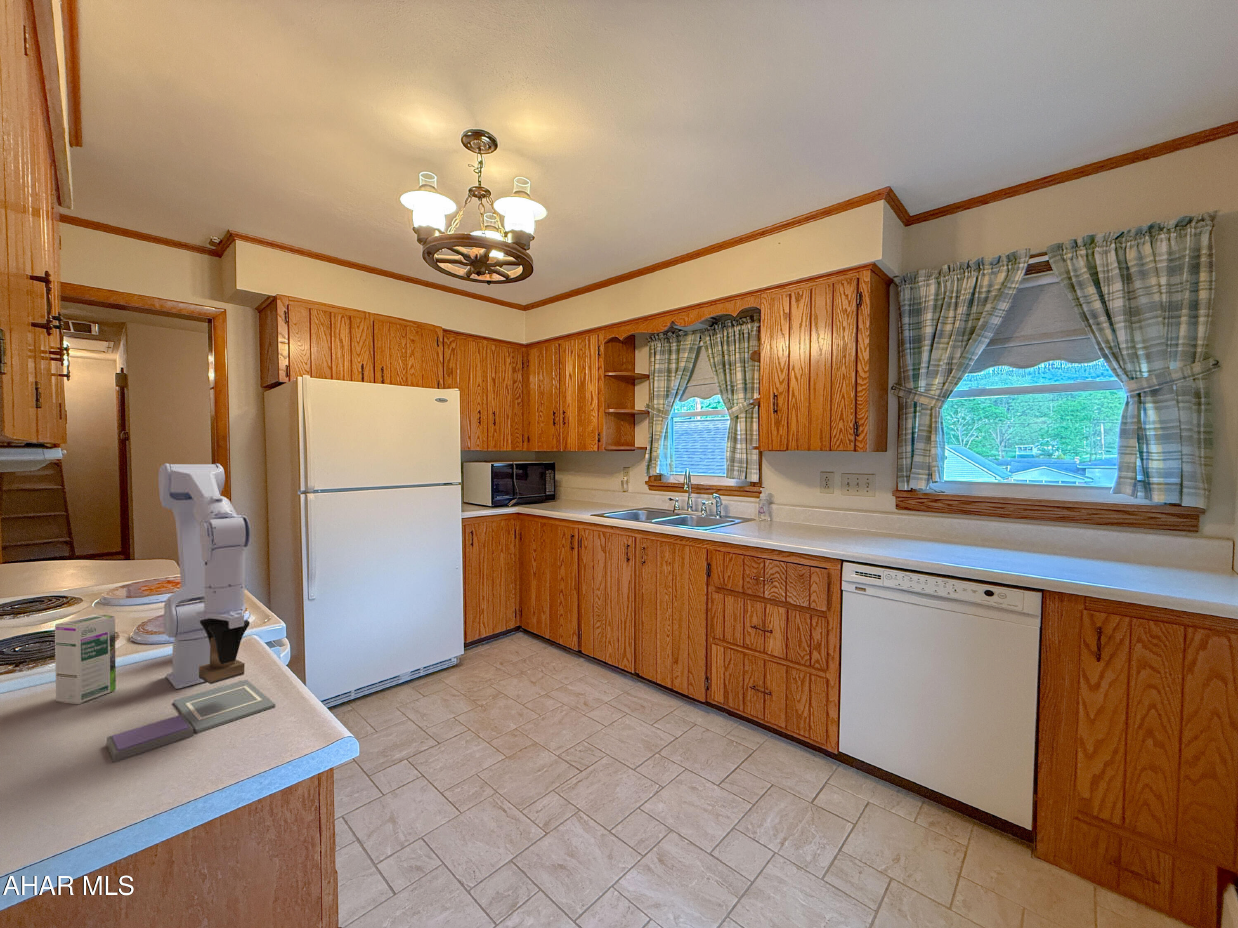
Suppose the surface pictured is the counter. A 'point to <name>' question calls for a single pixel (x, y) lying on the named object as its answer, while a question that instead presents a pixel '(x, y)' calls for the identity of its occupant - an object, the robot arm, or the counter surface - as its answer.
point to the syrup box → (85, 658)
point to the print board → (222, 705)
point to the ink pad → (148, 737)
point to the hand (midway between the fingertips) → (224, 658)
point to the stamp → (219, 667)
